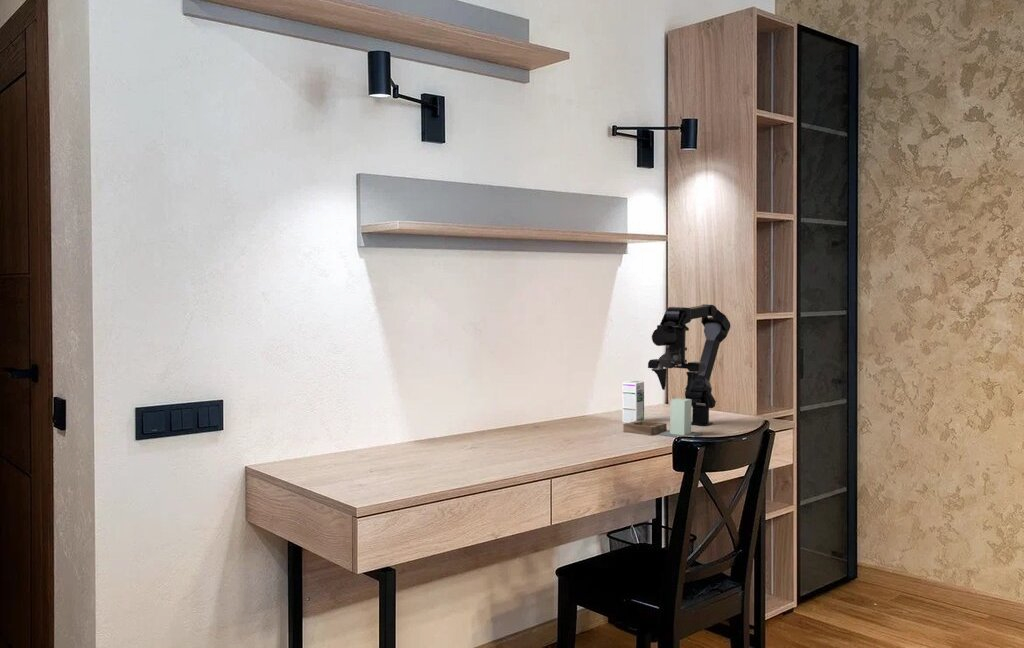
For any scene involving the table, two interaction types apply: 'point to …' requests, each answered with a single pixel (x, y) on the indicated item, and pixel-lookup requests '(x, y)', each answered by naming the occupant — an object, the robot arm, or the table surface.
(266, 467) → the table surface
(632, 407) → the syrup box
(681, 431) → the sage block
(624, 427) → the pocket block
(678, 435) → the mat
